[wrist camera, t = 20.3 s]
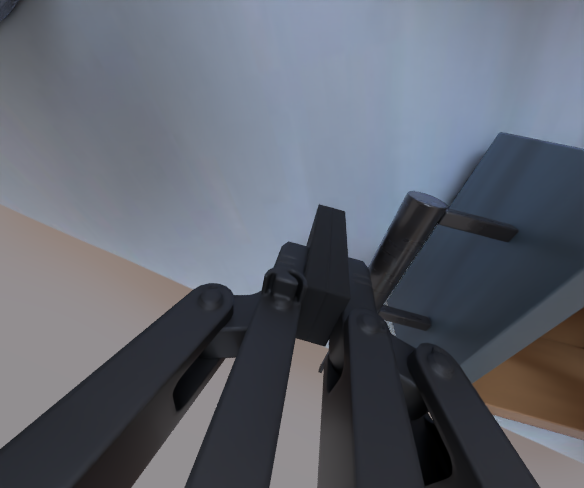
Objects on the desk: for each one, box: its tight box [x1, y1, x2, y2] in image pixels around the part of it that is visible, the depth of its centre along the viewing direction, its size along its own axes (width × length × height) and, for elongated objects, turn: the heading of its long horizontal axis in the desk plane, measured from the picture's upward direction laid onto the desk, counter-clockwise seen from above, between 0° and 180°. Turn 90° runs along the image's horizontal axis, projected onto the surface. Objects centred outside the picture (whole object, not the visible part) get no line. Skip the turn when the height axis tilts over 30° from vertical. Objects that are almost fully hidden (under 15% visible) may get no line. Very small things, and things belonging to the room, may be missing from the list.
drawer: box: [368, 132, 584, 440], centre depth 11 cm, size 20×12×7 cm, turn 78°
